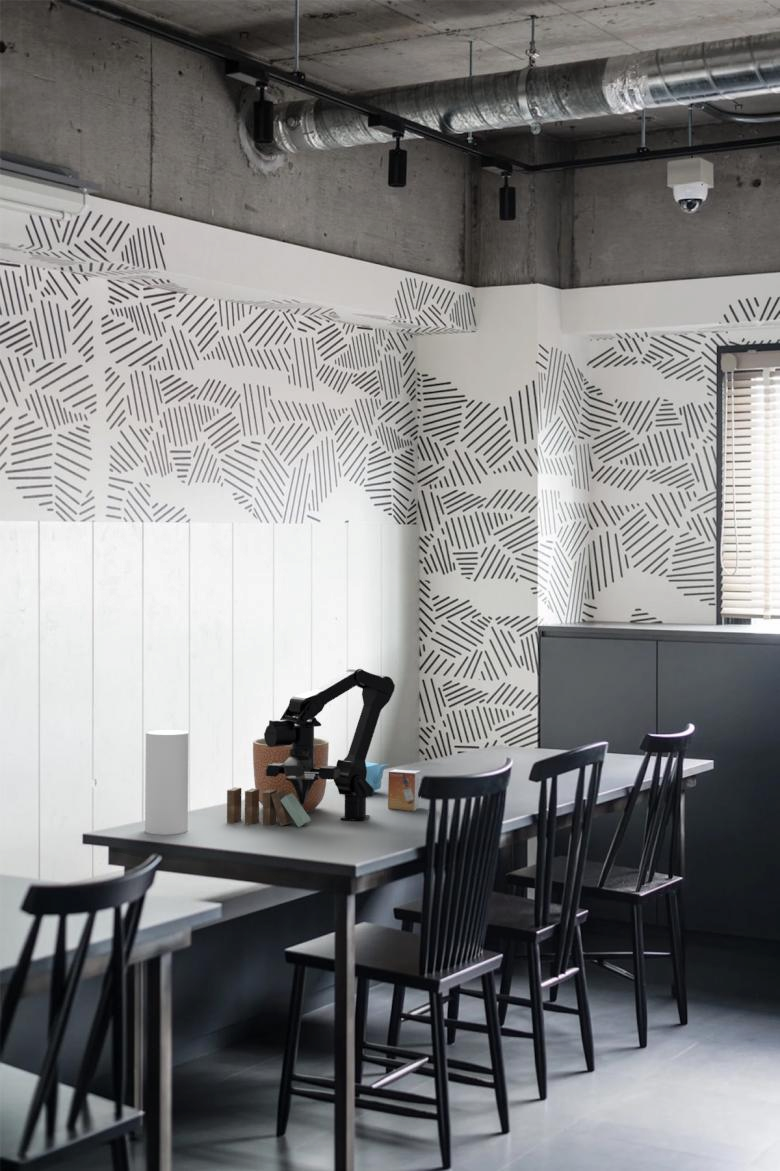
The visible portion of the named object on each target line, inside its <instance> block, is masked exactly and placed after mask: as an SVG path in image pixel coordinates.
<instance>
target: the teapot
mask: <svg viewBox="0 0 780 1171" xmlns="http://www.w3.org/2000/svg"><path fill="white" fill-rule="evenodd" d="M365 763H366V769H367V775H366V781H367V782H368V783H369V785H370V786H371V787H372V788H373V793H372V794H376V791H378V790H380V789H381V787H382V779H383V776H384V770H385V768H386V767H387V766H388V764H381V765H380V763H375V762H366V761H365Z"/></svg>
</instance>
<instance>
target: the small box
mask: <svg viewBox="0 0 780 1171" xmlns="http://www.w3.org/2000/svg"><path fill="white" fill-rule="evenodd" d="M387 780H388V783H387V784H388V787H387V791H388V792H387V809H388V810H389V809H390V810H391V809H392V810H401V811H402V810H403V811H404V810H405V811H410V810H415V809H417V808H419V807H420V808H421V798H420V799H419V798H418V790H419V787H420V783H421V784H422V771H421V770H410V769H408V770H407V769H396V768H394V769H392V770H389V771H388V778H387ZM420 808H419V809H420ZM417 810H418V809H417ZM415 811H416V810H415Z"/></svg>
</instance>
